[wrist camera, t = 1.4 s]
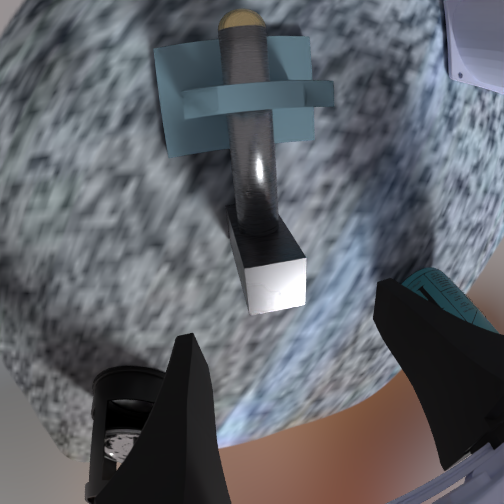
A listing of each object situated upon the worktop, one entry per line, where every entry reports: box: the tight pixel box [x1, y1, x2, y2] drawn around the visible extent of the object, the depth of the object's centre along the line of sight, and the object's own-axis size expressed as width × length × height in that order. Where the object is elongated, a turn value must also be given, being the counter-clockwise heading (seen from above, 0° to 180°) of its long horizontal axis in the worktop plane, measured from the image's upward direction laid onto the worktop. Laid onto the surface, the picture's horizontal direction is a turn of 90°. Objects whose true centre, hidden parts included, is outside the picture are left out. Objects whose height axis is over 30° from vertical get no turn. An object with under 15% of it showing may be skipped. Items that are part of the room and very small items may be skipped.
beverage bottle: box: [402, 267, 499, 334], centre depth 17 cm, size 6×7×20 cm
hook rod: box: [218, 9, 306, 316], centre depth 13 cm, size 13×3×7 cm, turn 4°
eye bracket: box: [154, 36, 334, 158], centre depth 12 cm, size 6×8×6 cm
